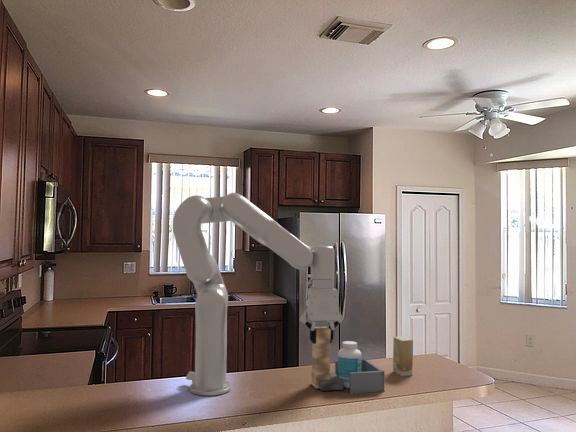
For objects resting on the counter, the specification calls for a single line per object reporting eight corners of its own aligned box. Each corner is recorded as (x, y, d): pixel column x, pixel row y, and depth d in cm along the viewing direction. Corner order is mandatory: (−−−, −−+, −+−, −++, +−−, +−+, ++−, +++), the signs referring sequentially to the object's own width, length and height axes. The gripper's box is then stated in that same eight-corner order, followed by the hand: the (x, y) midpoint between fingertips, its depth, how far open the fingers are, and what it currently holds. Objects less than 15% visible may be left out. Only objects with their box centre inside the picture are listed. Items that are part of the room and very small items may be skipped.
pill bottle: (363, 389, 146) (363, 345, 147) (339, 389, 146) (339, 345, 147) (359, 381, 153) (359, 340, 154) (336, 381, 154) (337, 339, 154)
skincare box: (392, 371, 166) (392, 336, 166) (403, 370, 167) (403, 335, 167) (402, 376, 159) (402, 340, 160) (413, 375, 161) (413, 339, 161)
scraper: (317, 390, 143) (318, 331, 144) (309, 381, 152) (311, 325, 152) (343, 389, 144) (344, 330, 145) (334, 380, 153) (335, 325, 154)
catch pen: (350, 393, 142) (350, 373, 142) (334, 378, 156) (335, 360, 157) (384, 391, 144) (384, 371, 144) (365, 376, 159) (365, 358, 159)
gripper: (299, 285, 144) (298, 346, 143) (351, 285, 147) (350, 344, 146) (293, 283, 151) (292, 340, 150) (343, 283, 154) (343, 339, 154)
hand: (321, 341), depth 148 cm, fingers closed on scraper, 4 cm apart
